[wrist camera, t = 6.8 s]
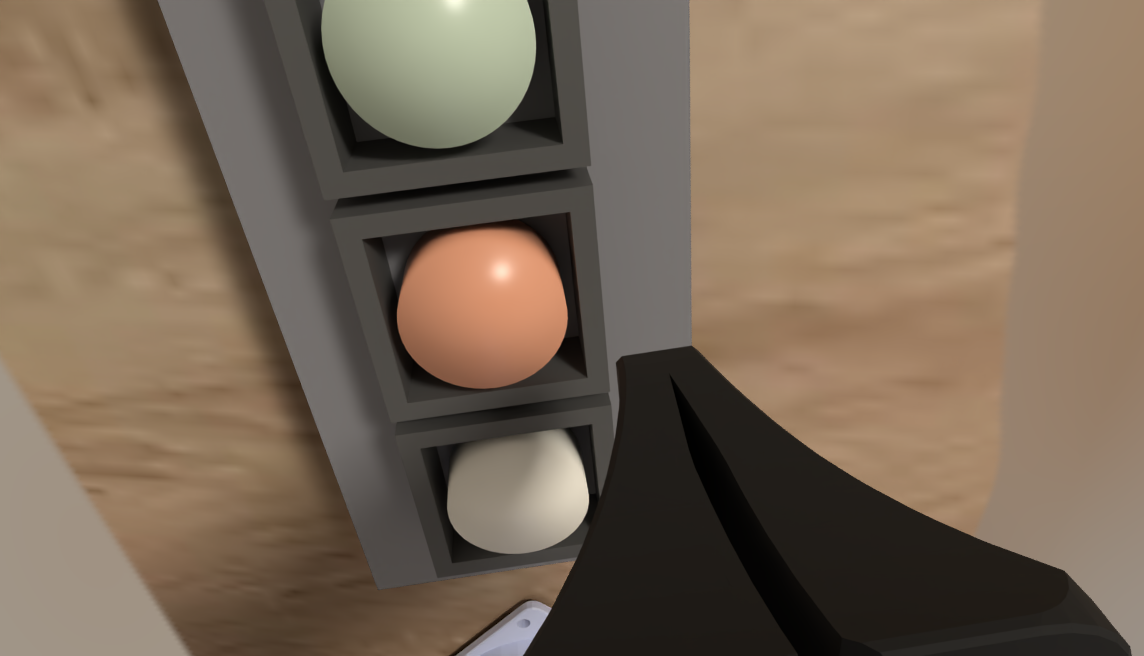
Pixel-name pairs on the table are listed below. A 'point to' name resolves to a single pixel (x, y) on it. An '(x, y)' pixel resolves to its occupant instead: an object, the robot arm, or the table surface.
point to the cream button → (517, 490)
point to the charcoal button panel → (443, 200)
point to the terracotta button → (482, 304)
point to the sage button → (430, 65)
